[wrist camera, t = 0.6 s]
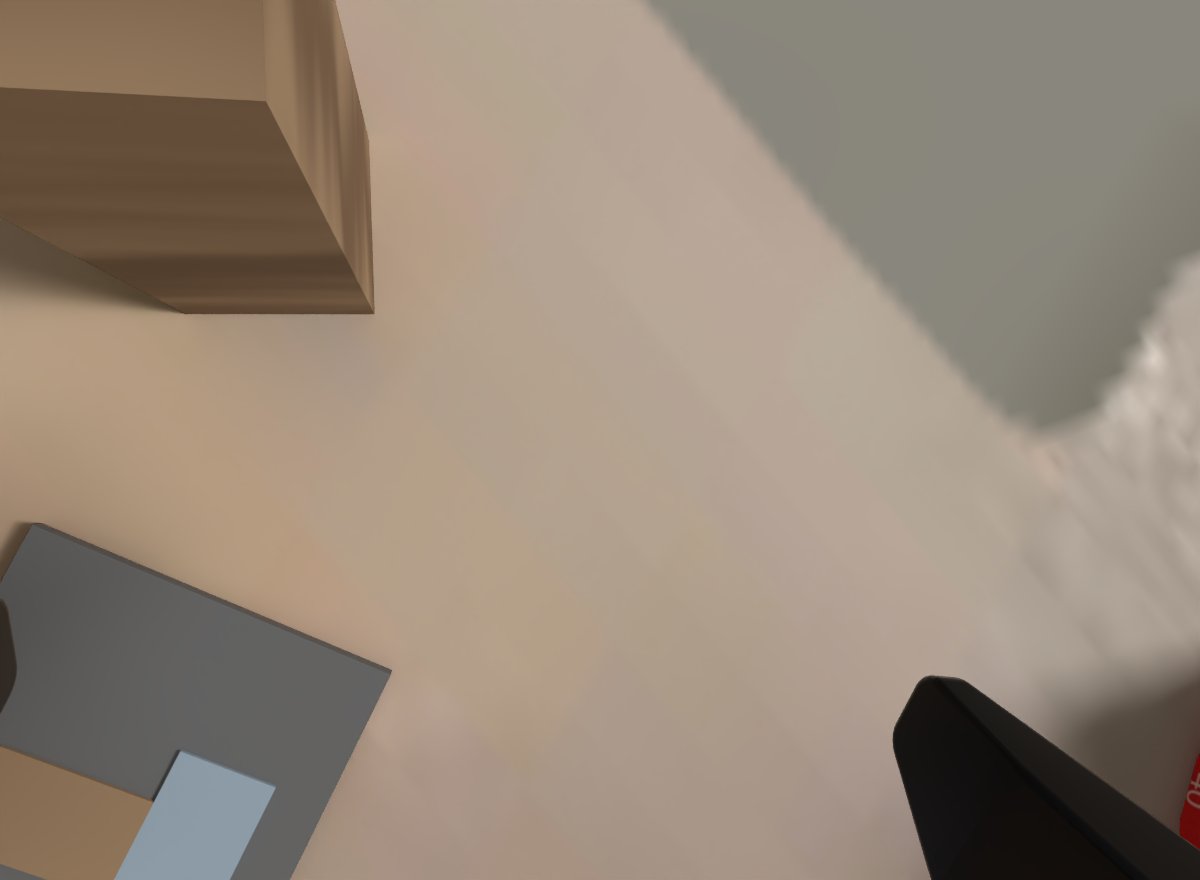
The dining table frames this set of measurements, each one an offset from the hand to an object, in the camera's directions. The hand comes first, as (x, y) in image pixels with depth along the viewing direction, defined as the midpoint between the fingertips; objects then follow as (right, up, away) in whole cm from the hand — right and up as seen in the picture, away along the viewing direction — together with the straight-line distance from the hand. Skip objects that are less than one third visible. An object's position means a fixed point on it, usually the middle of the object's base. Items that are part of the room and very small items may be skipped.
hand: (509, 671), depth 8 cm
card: (-11, -7, +11) cm, 17 cm away
